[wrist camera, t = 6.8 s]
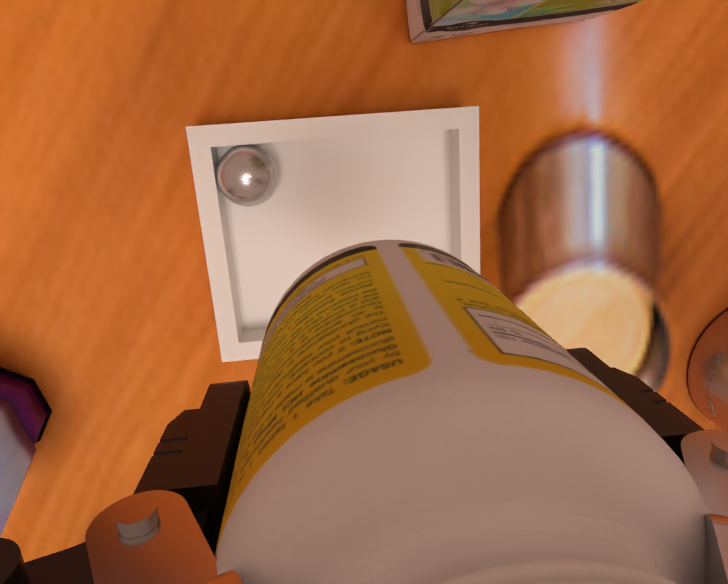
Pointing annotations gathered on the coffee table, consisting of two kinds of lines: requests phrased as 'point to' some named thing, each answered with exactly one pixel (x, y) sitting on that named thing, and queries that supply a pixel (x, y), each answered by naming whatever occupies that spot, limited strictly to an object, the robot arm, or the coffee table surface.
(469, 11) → the tea box
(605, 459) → the pill bottle
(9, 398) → the potion bottle
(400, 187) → the tray
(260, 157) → the steel ball
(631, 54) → the coffee table surface
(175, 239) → the coffee table surface
